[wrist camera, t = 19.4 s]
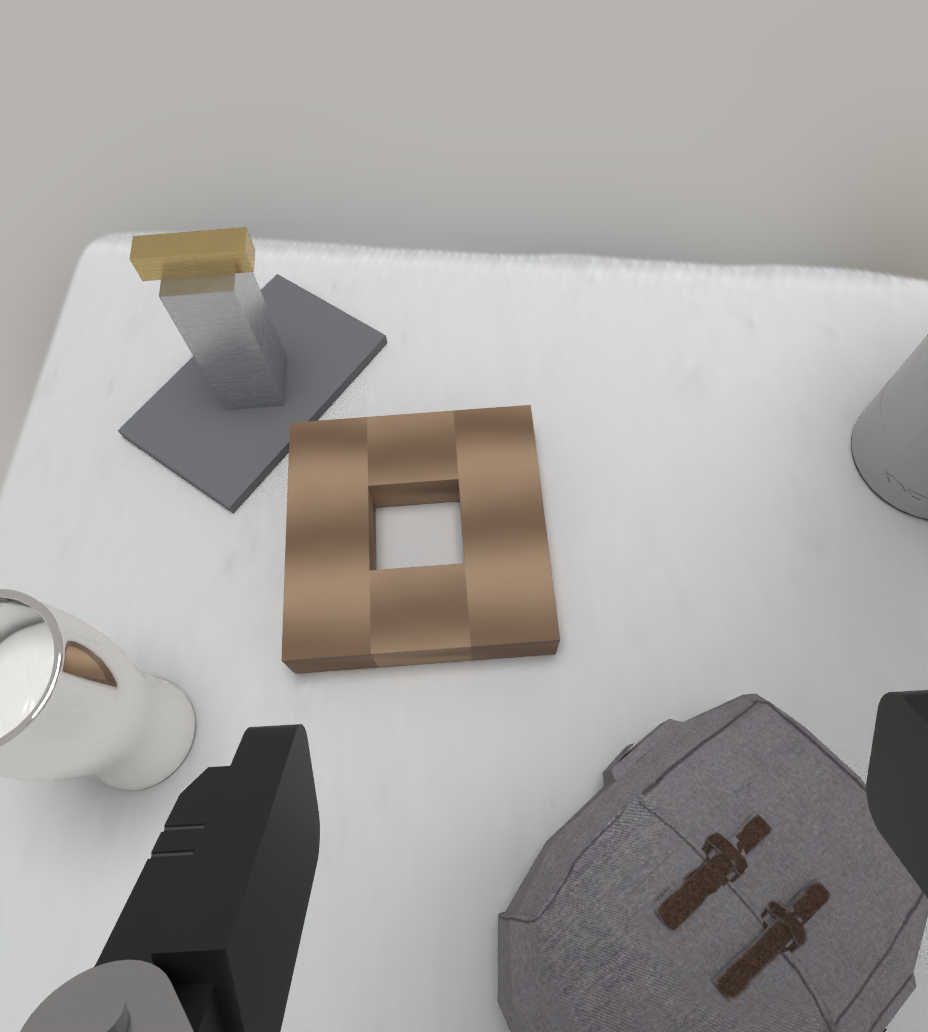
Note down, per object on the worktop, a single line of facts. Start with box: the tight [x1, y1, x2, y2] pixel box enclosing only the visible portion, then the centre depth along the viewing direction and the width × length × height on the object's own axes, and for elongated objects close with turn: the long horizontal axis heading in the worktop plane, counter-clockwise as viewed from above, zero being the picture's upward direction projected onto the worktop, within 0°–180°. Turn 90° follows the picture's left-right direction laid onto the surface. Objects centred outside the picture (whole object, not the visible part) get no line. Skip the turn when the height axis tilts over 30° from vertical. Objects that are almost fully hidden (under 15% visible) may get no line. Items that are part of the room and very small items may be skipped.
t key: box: [130, 227, 287, 410], centre depth 45 cm, size 6×4×13 cm, turn 94°
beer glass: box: [0, 589, 195, 790], centre depth 35 cm, size 7×7×15 cm
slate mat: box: [118, 274, 387, 513], centre depth 51 cm, size 16×10×1 cm, turn 145°
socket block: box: [282, 405, 560, 673], centre depth 45 cm, size 15×15×3 cm
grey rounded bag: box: [498, 694, 928, 1032], centre depth 34 cm, size 15×8×20 cm
